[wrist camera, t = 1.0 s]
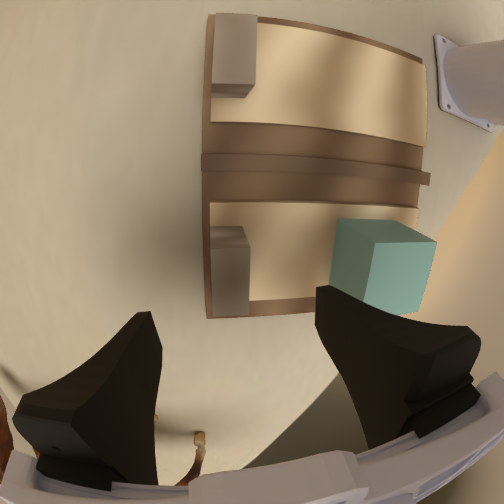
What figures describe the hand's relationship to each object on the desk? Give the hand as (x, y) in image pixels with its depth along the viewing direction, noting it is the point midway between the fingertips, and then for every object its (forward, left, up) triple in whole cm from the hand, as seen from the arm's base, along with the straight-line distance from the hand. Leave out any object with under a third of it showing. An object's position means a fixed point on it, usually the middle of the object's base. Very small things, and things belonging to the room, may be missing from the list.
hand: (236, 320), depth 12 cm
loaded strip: (-7, 0, -8) cm, 11 cm away
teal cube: (-10, 0, -7) cm, 12 cm away
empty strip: (-7, -12, -8) cm, 16 cm away
